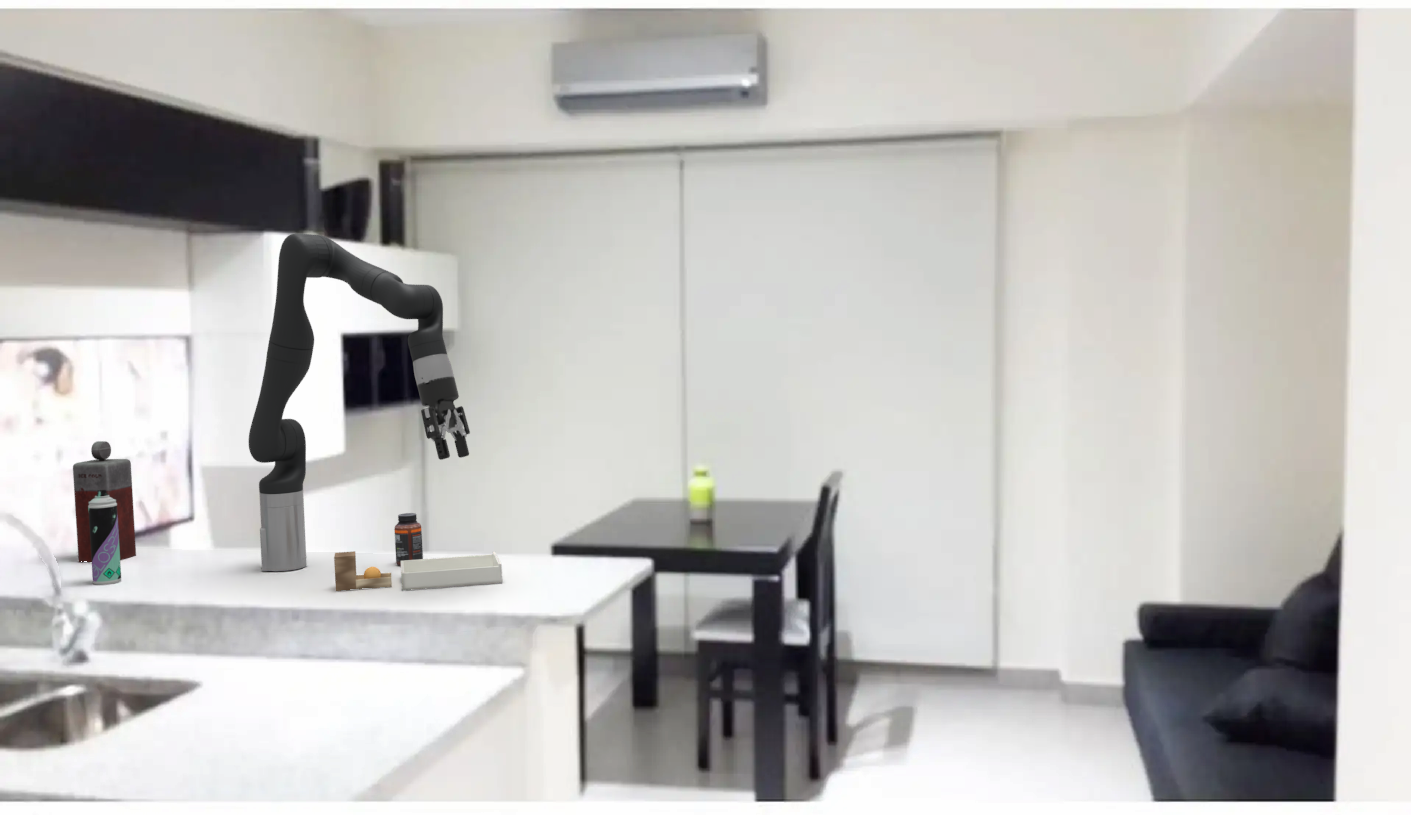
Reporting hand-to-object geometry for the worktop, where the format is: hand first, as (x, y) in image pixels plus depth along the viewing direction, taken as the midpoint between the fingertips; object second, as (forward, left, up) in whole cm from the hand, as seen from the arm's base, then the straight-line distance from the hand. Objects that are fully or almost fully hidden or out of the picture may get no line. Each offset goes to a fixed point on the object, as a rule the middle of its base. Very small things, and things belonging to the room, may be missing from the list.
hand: (454, 457), depth 241 cm
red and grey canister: (-79, +64, -27) cm, 105 cm away
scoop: (-19, +9, -27) cm, 34 cm away
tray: (-1, +9, -27) cm, 28 cm away
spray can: (-72, +34, -27) cm, 84 cm away
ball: (-17, +9, -24) cm, 31 cm away
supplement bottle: (-9, +30, -27) cm, 41 cm away
